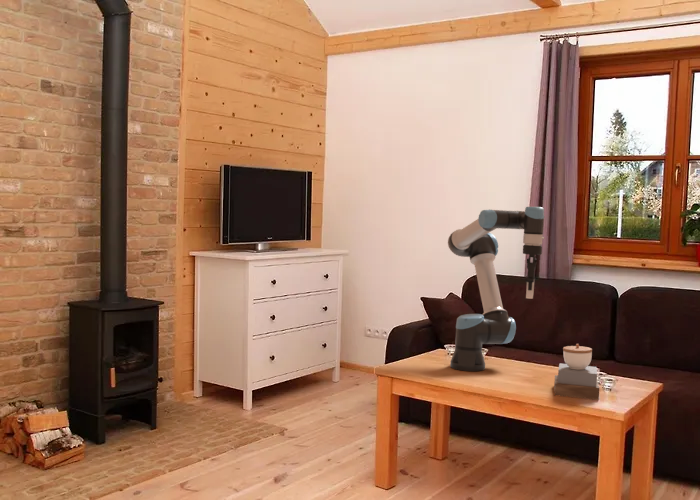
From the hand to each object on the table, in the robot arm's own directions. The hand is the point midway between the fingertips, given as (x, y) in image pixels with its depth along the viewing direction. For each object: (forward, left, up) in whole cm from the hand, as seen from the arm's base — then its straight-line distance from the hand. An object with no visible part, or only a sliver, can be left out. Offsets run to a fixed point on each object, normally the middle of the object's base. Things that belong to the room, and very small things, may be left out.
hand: (529, 296), depth 301 cm
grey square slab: (+12, +20, -30) cm, 38 cm away
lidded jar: (+12, +20, -25) cm, 34 cm away
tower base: (+12, +20, -35) cm, 42 cm away
